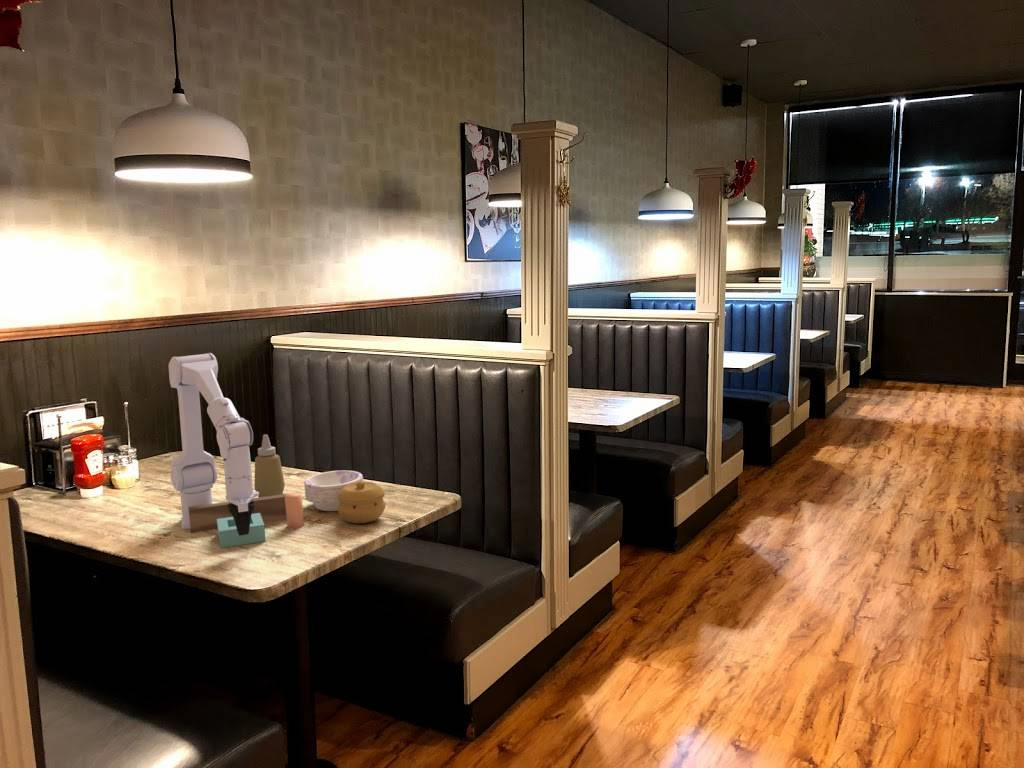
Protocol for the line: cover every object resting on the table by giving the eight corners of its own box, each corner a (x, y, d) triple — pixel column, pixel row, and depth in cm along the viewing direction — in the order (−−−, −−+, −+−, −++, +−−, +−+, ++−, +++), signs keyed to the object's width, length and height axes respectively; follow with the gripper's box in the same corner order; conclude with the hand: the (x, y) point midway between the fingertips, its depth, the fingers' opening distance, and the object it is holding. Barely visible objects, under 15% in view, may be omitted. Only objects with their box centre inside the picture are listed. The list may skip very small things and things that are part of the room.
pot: (365, 510, 217) (362, 472, 216) (396, 518, 210) (394, 479, 208) (329, 522, 209) (326, 483, 207) (360, 531, 201) (357, 491, 200)
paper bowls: (293, 511, 218) (291, 481, 217) (331, 495, 232) (329, 467, 230) (339, 518, 211) (337, 488, 210) (376, 501, 225) (374, 472, 223)
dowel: (286, 525, 207) (283, 494, 206) (302, 522, 209) (300, 491, 207) (288, 530, 204) (285, 498, 202) (305, 527, 205) (302, 496, 204)
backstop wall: (190, 530, 206) (188, 507, 205) (290, 516, 214) (289, 493, 213) (191, 533, 203) (188, 509, 202) (292, 518, 212) (290, 495, 211)
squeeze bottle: (249, 503, 227) (244, 438, 224) (265, 494, 235) (259, 431, 232) (276, 504, 225) (271, 438, 222) (291, 495, 233) (286, 432, 230)
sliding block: (218, 534, 201) (216, 518, 200) (261, 528, 205) (259, 512, 204) (220, 548, 192) (218, 531, 191) (265, 541, 196) (264, 524, 195)
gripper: (260, 481, 182) (265, 541, 184) (253, 466, 195) (258, 522, 197) (226, 485, 179) (231, 546, 181) (222, 470, 192) (227, 526, 194)
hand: (243, 534), depth 189 cm, fingers closed
